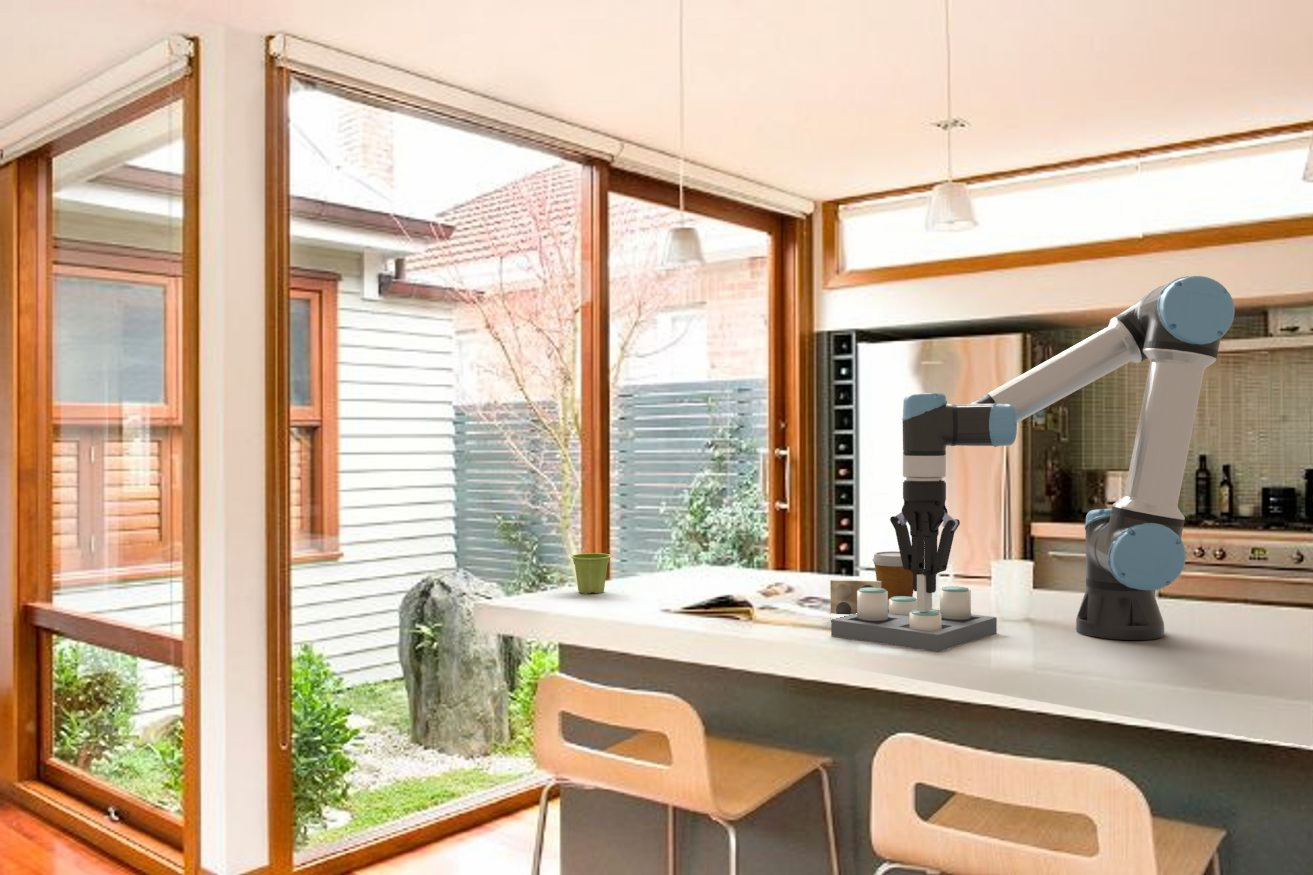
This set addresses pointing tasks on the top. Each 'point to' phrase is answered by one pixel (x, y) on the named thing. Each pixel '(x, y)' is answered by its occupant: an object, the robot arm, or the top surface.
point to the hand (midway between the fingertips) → (924, 610)
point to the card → (847, 594)
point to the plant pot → (591, 571)
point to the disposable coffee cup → (893, 574)
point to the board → (914, 631)
